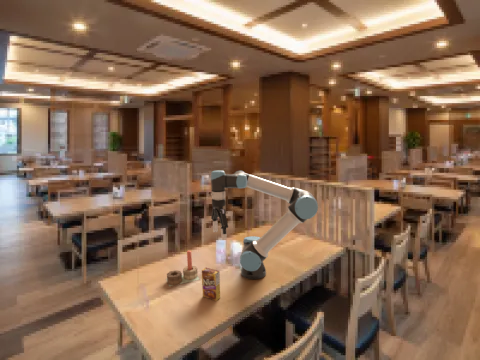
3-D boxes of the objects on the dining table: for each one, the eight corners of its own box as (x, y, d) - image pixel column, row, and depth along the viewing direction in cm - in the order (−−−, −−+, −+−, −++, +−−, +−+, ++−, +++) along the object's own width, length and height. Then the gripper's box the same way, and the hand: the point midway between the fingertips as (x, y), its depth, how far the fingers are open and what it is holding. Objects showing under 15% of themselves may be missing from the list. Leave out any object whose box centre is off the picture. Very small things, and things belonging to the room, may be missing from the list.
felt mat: (195, 272, 183) (195, 272, 183) (199, 280, 174) (199, 279, 174) (165, 279, 175) (165, 278, 175) (169, 287, 166) (169, 286, 166)
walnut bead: (179, 277, 177) (179, 269, 176) (183, 283, 170) (182, 275, 169) (166, 280, 173) (165, 272, 173) (169, 286, 166) (168, 278, 165)
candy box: (202, 297, 156) (201, 270, 153) (206, 293, 159) (205, 266, 157) (216, 301, 151) (215, 273, 149) (220, 297, 155) (219, 270, 152)
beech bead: (195, 272, 183) (194, 264, 182) (198, 277, 175) (198, 270, 175) (182, 275, 179) (182, 267, 179) (185, 280, 172) (185, 272, 171)
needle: (191, 275, 179) (190, 250, 177) (193, 276, 177) (191, 251, 174) (187, 276, 178) (186, 251, 175) (188, 277, 176) (187, 252, 173)
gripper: (205, 195, 171) (206, 230, 175) (220, 204, 149) (221, 244, 152) (217, 193, 174) (218, 228, 178) (233, 202, 152) (234, 241, 155)
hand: (219, 235), depth 165 cm, fingers open, 13 cm apart
